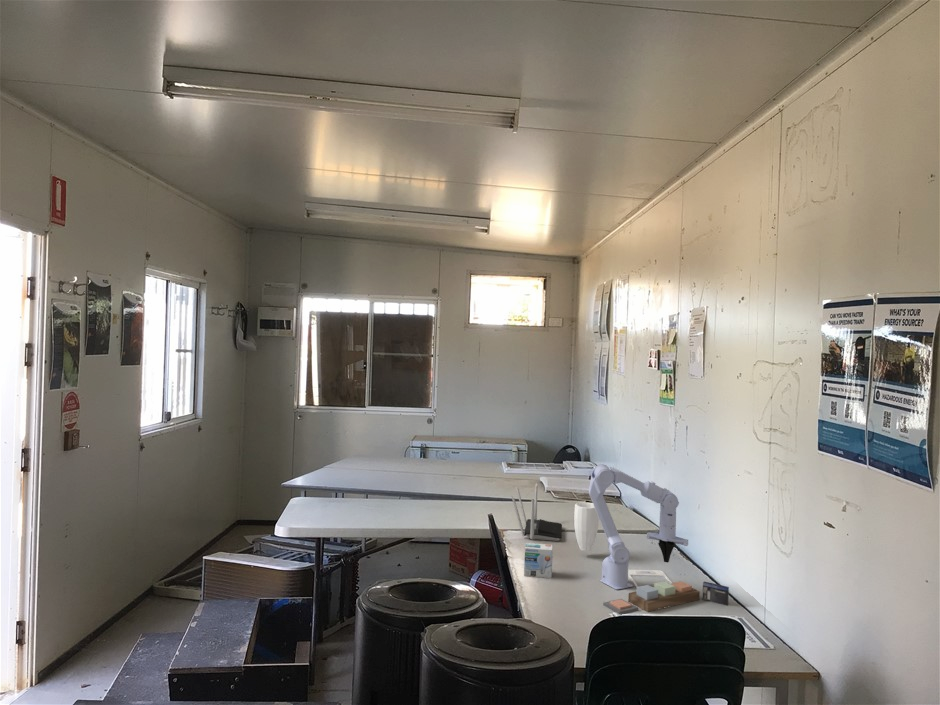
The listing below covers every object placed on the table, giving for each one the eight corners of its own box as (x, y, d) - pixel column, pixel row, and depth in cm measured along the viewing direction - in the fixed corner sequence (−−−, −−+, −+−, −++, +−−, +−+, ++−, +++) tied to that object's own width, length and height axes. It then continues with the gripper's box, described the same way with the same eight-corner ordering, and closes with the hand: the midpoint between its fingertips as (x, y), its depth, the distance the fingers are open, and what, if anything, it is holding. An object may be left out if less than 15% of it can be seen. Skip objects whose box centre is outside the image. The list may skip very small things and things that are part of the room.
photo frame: (661, 570, 241) (677, 587, 223) (661, 572, 241) (677, 590, 223) (624, 569, 241) (637, 586, 223) (624, 571, 241) (637, 589, 223)
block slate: (636, 598, 209) (636, 587, 209) (647, 596, 211) (647, 584, 211) (646, 604, 205) (647, 592, 205) (657, 601, 207) (658, 590, 207)
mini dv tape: (702, 599, 214) (702, 582, 214) (703, 598, 215) (703, 581, 215) (727, 605, 209) (727, 588, 209) (728, 604, 211) (728, 586, 211)
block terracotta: (670, 594, 217) (670, 583, 217) (680, 592, 219) (680, 581, 219) (681, 599, 212) (681, 588, 212) (691, 597, 215) (691, 586, 215)
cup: (598, 561, 250) (599, 509, 250) (572, 559, 252) (573, 507, 252) (597, 553, 260) (599, 503, 260) (573, 551, 262) (574, 501, 262)
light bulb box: (523, 576, 232) (524, 547, 232) (524, 570, 238) (525, 542, 238) (552, 578, 230) (552, 549, 230) (552, 572, 237) (552, 544, 237)
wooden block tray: (628, 601, 210) (628, 593, 210) (679, 590, 222) (679, 582, 222) (647, 612, 202) (647, 602, 202) (699, 599, 214) (699, 591, 214)
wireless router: (561, 546, 269) (562, 500, 269) (509, 542, 272) (510, 497, 272) (562, 525, 302) (563, 484, 302) (515, 521, 306) (516, 481, 306)
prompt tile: (603, 604, 207) (603, 600, 207) (621, 601, 211) (621, 596, 211) (619, 614, 200) (619, 610, 200) (637, 610, 204) (637, 605, 204)
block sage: (653, 595, 213) (654, 583, 213) (664, 592, 215) (664, 581, 215) (664, 600, 208) (664, 588, 208) (675, 597, 211) (675, 586, 211)
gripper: (644, 523, 225) (643, 560, 225) (685, 530, 217) (684, 568, 217) (650, 519, 231) (649, 555, 231) (690, 526, 223) (689, 563, 223)
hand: (666, 561), depth 224 cm, fingers closed
